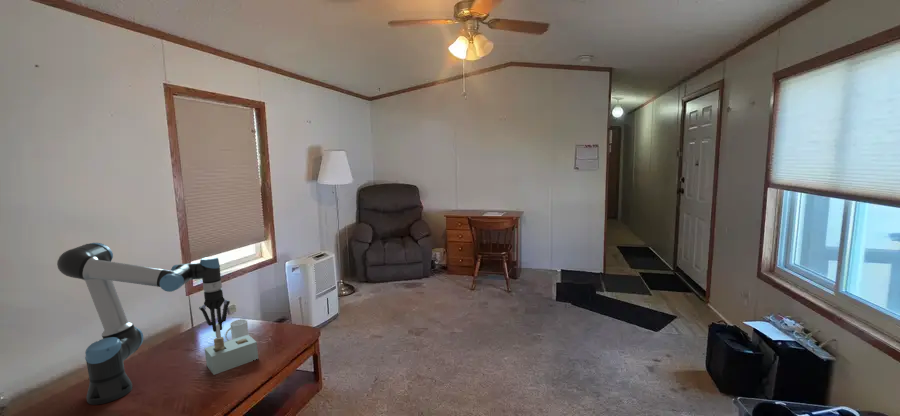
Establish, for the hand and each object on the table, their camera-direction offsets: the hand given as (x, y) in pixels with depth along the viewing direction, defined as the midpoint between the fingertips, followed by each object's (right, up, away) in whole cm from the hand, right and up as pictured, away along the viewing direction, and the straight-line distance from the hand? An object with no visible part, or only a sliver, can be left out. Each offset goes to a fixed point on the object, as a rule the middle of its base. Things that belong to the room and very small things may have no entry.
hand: (218, 337), depth 195 cm
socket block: (+4, -14, +6) cm, 16 cm away
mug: (-3, -12, +25) cm, 28 cm away
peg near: (0, -10, +1) cm, 10 cm away
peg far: (+8, -13, +9) cm, 18 cm away
